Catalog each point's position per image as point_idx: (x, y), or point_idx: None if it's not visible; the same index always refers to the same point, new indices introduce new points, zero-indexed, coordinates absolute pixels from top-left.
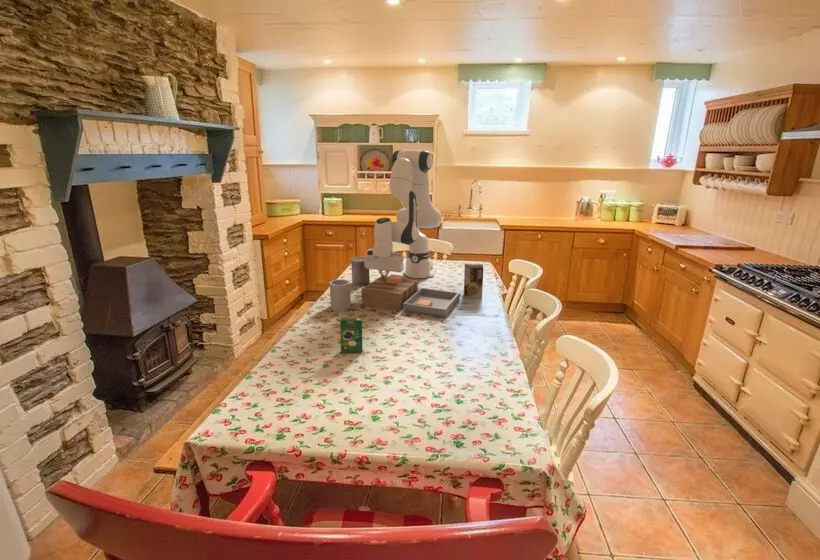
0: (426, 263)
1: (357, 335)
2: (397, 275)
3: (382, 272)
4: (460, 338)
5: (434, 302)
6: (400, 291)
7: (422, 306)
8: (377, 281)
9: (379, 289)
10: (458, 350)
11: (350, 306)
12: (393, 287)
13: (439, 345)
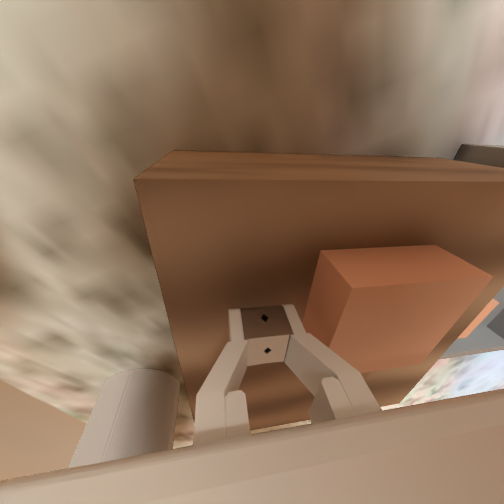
0: None
1: None
2: (429, 296)
3: (235, 365)
4: (473, 374)
5: None
6: (398, 389)
7: (445, 357)
8: (216, 349)
9: (293, 413)
10: (453, 397)
11: (176, 380)
12: (361, 374)
13: (428, 399)
